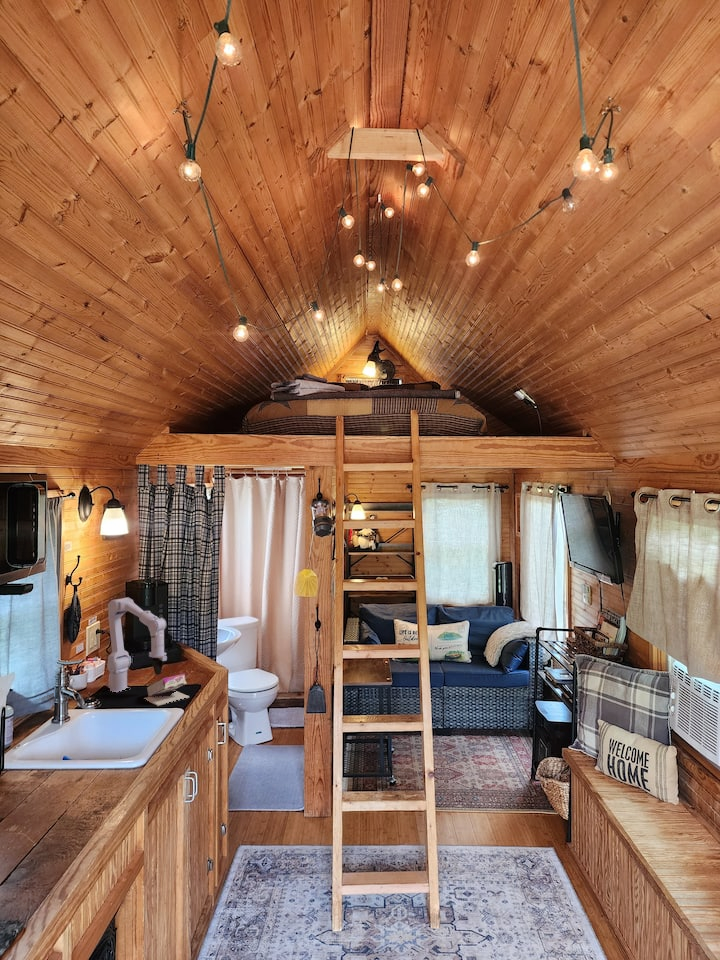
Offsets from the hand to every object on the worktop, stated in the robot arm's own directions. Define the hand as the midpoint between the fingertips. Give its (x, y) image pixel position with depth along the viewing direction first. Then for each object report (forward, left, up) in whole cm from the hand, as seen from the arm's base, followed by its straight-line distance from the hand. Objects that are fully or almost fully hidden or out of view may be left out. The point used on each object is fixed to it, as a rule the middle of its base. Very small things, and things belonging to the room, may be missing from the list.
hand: (157, 674), depth 269 cm
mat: (+9, 0, -9) cm, 13 cm away
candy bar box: (-1, 0, -7) cm, 7 cm away
